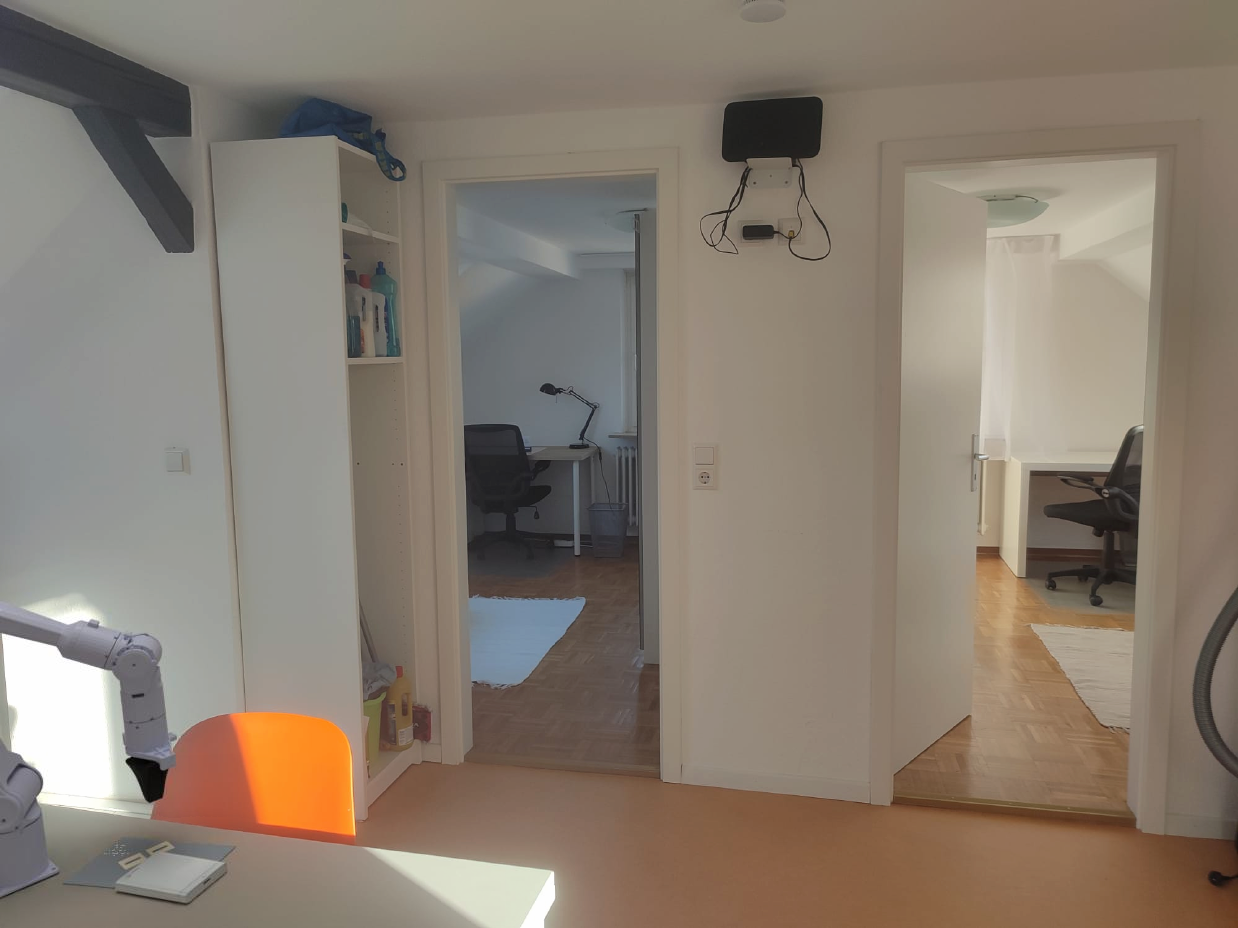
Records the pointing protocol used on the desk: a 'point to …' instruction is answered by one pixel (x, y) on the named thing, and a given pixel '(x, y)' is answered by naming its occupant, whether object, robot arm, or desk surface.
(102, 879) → the label mat
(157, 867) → the hard drive
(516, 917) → the desk surface
